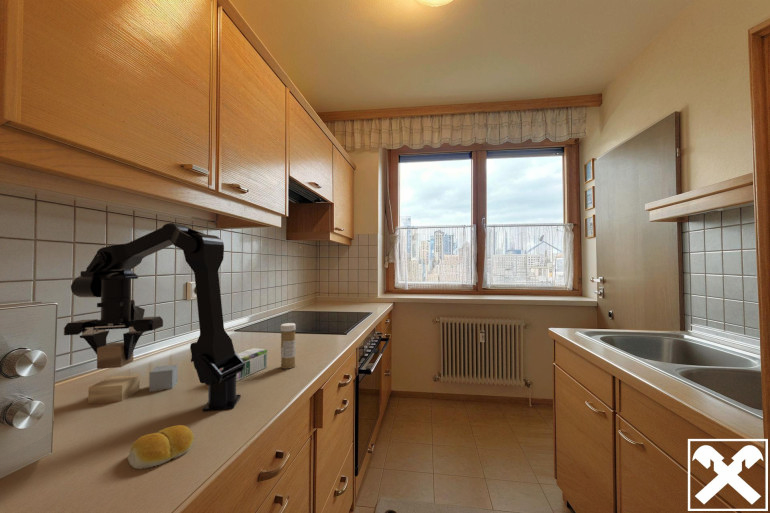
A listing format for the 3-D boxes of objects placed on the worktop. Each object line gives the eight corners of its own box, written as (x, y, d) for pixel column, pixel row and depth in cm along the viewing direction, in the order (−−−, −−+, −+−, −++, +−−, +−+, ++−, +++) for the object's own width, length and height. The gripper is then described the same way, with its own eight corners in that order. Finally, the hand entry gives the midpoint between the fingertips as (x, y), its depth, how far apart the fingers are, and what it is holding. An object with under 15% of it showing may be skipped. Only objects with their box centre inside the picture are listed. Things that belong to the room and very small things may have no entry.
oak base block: (122, 401, 74) (122, 385, 74) (88, 404, 72) (88, 387, 73) (139, 390, 81) (139, 374, 81) (108, 392, 79) (108, 377, 79)
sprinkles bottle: (282, 364, 99) (282, 322, 100) (297, 364, 100) (296, 322, 100) (279, 369, 95) (278, 325, 95) (294, 368, 95) (294, 325, 95)
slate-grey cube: (172, 389, 81) (172, 369, 81) (149, 392, 79) (149, 372, 79) (177, 382, 85) (177, 364, 86) (155, 385, 84) (155, 366, 84)
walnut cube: (120, 367, 75) (120, 346, 75) (96, 368, 74) (97, 348, 74) (133, 361, 80) (133, 341, 80) (111, 362, 79) (111, 342, 79)
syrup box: (267, 367, 97) (231, 384, 83) (252, 365, 99) (214, 382, 85) (267, 349, 97) (231, 363, 83) (252, 347, 99) (214, 361, 85)
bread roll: (201, 448, 54) (201, 425, 54) (139, 477, 47) (139, 451, 47) (181, 434, 59) (181, 412, 59) (121, 458, 52) (122, 434, 52)
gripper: (173, 293, 87) (173, 348, 87) (96, 295, 83) (96, 353, 83) (151, 297, 76) (151, 360, 76) (62, 300, 72) (61, 367, 72)
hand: (115, 360), depth 77 cm, fingers closed on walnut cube, 5 cm apart
